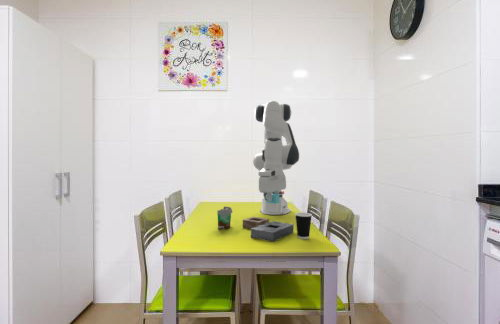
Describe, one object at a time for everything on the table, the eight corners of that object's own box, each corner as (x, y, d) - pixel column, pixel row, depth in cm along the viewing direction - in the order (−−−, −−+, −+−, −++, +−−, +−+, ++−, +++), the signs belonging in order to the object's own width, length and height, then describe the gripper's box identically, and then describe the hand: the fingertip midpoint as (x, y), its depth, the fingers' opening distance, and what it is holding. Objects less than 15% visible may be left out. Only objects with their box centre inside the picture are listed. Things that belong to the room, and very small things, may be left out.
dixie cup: (292, 235, 147) (292, 212, 147) (307, 234, 149) (307, 212, 149) (298, 240, 139) (299, 216, 139) (314, 239, 141) (315, 215, 141)
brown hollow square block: (253, 223, 171) (253, 216, 171) (268, 226, 165) (268, 219, 165) (242, 227, 163) (242, 219, 162) (258, 230, 157) (258, 222, 157)
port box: (272, 228, 160) (272, 220, 160) (293, 232, 154) (293, 223, 154) (250, 237, 144) (250, 227, 144) (273, 241, 137) (273, 231, 137)
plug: (270, 210, 151) (270, 193, 151) (279, 211, 148) (279, 194, 148) (266, 210, 149) (267, 194, 148) (276, 212, 146) (276, 195, 145)
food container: (228, 230, 156) (228, 211, 155) (217, 230, 157) (217, 210, 157) (234, 225, 168) (235, 206, 167) (224, 224, 169) (224, 206, 169)
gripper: (278, 170, 158) (278, 197, 159) (256, 172, 141) (256, 202, 142) (289, 170, 155) (289, 198, 155) (268, 172, 138) (268, 203, 138)
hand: (273, 200), depth 148 cm, fingers closed on plug, 3 cm apart
